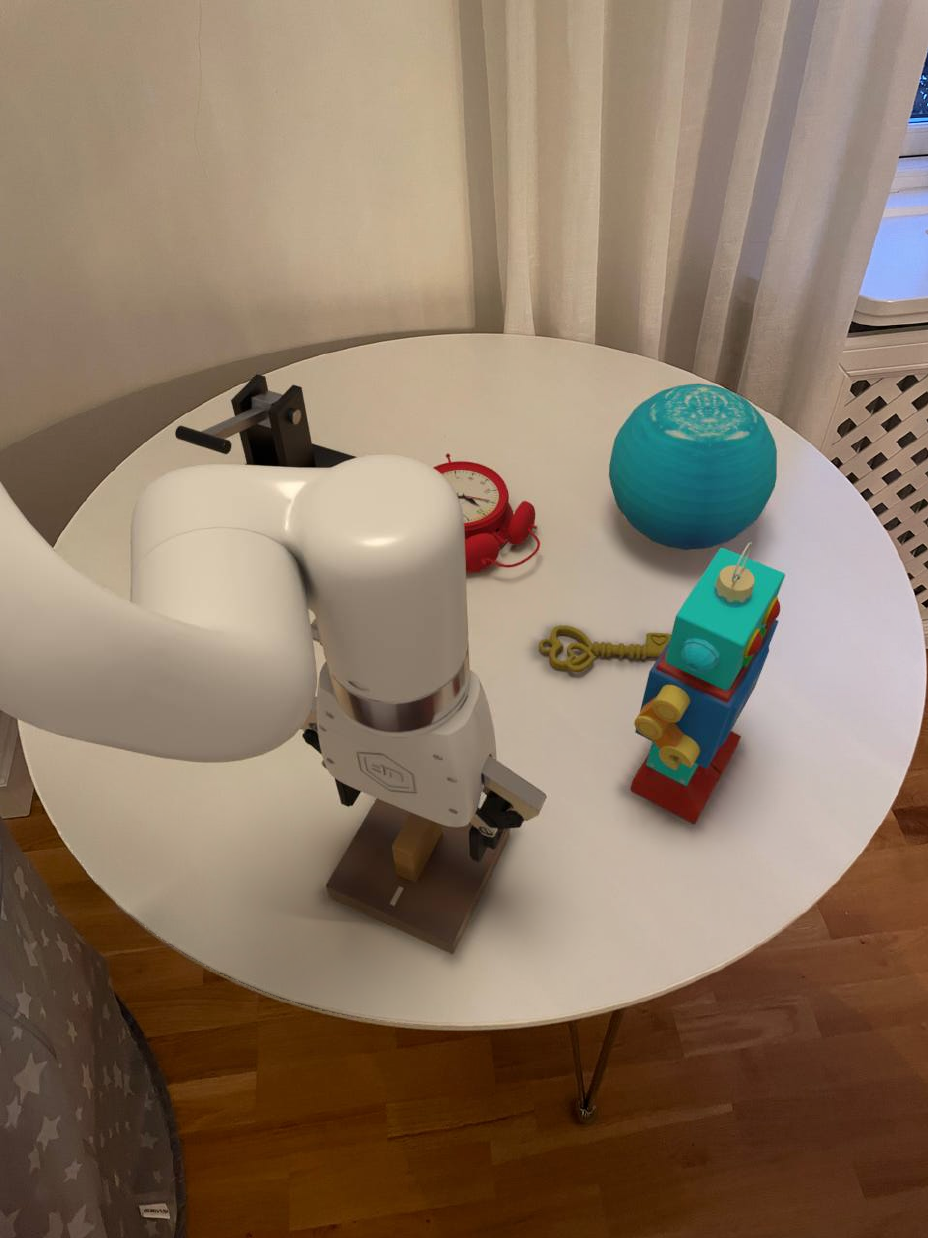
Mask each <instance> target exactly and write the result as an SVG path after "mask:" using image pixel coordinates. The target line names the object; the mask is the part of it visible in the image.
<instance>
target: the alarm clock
mask: <svg viewBox="0 0 928 1238" xmlns="http://www.w3.org/2000/svg"><path fill="white" fill-rule="evenodd" d="M450 457H451V454H450V453H446V454H445V458H447V461H448V462H444V463H441V464H438V465H435V466H433V468H434V469H435V470H437V471H438V472H440V473H441V474H442V475H443V476H444V477H445V478H446V479H447V480H448V481H449V482H450V484H451V486H452V487H453V489H454V490H455V492H456V494H457V495H458V498H459V501H460V503H461V507H462V511H463V520H464V531H465V561H466V573H467V572H468V573H477V572H481V571H483V570H485V569H488V568H489V567H490V566H492V565H495V566H498V567H502V568H506V569H507V568H514V567H518V566H520V565H523V564H524V563H526V562H528V561H529V560H531V558H533V557H534V556H535V555H536V554H537V553H538V551H539V550H540V548H541V542H540V539H539V537H538V536H537V535H536V534H535V533H534V531H533V530H537V529H538V526H537V525H535V521H536V509H535V506H534V505H533V504H532V503H531V502H530V501H527V500H523V501H521V503H519V505H518V506H517V507H516V509H515V511H513V508H512V505H511V504H510V502H509V501H510V494H509V490H508V487H507V484H506V482H505V480H504V479H503V478H502V476H501V475H500V474H499V473H498V472H497V471H495V470H494V469H492V468H490V467H489V466H486V465H484V464H481V463H478V462H473V461H465V460H463V461H462V460H460V461H459V460H458V461H457V460H456V461H452V460H451V458H450ZM530 535H531V536H532V537H533V538H534V540H535V541H536V548H535V550H534V551H533V552H532V553H531V554H529V556H527V557H525V558H524V559H522V560H521V561H517V562H515V563H513V564H512V563H511V564H504V563H500V562H497V559H498V557H499V553H500V548H501V547H502V546H504V545H505V544H507V543H509V544H510V545H514V546H520V545H522V544H523V543H525V542H526V541H527V540H528V538H529V537H530Z"/></svg>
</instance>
